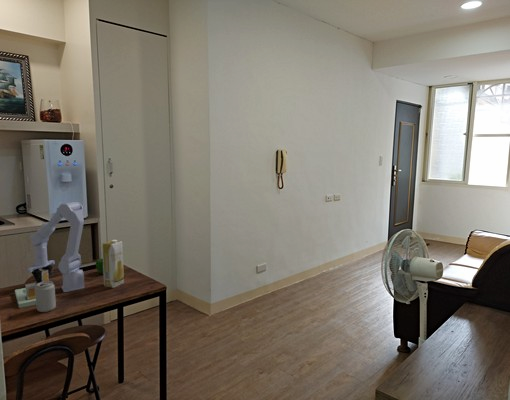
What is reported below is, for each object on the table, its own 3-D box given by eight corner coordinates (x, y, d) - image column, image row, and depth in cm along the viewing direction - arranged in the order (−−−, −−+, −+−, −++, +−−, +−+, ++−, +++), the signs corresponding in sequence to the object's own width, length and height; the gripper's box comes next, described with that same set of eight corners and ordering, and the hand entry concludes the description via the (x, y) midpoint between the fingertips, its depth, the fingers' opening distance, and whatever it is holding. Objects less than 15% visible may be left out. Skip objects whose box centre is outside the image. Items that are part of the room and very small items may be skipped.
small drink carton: (43, 283, 196) (42, 268, 195) (49, 284, 195) (48, 269, 194) (36, 286, 192) (35, 271, 191) (42, 287, 191) (41, 272, 190)
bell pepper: (100, 276, 208) (100, 258, 206) (93, 273, 213) (92, 255, 212) (115, 272, 214) (114, 255, 213) (107, 269, 219) (106, 252, 218)
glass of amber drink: (36, 299, 176) (35, 282, 175) (37, 302, 173) (36, 285, 172) (26, 301, 174) (25, 284, 173) (27, 304, 171) (26, 287, 170)
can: (41, 305, 169) (39, 280, 167) (58, 305, 170) (57, 280, 168) (33, 313, 162) (31, 286, 160) (51, 312, 162) (49, 286, 161)
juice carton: (113, 289, 190) (111, 242, 186) (101, 286, 193) (99, 241, 189) (126, 282, 198) (124, 238, 195) (114, 280, 201) (112, 237, 198)
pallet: (41, 288, 189) (40, 285, 188) (47, 302, 173) (46, 298, 173) (15, 293, 182) (14, 289, 182) (19, 308, 166) (18, 303, 166)
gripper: (46, 251, 199) (48, 276, 201) (22, 259, 186) (24, 285, 188) (57, 252, 197) (58, 277, 199) (33, 260, 184) (35, 287, 186)
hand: (42, 281), depth 193 cm, fingers closed on small drink carton, 4 cm apart
